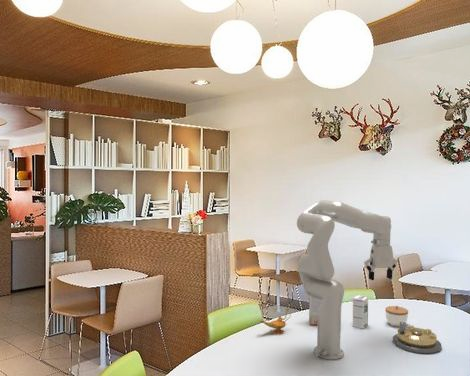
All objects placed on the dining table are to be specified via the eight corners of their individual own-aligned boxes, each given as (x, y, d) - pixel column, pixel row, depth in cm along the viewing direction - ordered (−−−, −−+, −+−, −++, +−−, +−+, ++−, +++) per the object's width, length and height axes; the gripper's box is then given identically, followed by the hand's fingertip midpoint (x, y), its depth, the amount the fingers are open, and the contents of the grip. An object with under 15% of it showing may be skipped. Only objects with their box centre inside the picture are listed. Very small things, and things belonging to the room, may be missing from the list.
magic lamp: (255, 333, 206) (255, 310, 206) (285, 326, 216) (286, 304, 215) (264, 338, 201) (264, 314, 200) (294, 331, 210) (295, 308, 209)
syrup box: (363, 329, 213) (364, 299, 213) (352, 326, 217) (352, 297, 216) (367, 325, 218) (368, 297, 217) (356, 323, 221) (357, 294, 221)
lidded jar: (409, 329, 214) (410, 310, 213) (386, 327, 216) (387, 308, 215) (405, 321, 224) (406, 303, 224) (383, 320, 226) (384, 302, 226)
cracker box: (336, 322, 222) (337, 281, 221) (338, 326, 216) (339, 284, 215) (308, 321, 224) (309, 280, 223) (309, 325, 218) (310, 283, 217)
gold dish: (432, 351, 184) (432, 332, 184) (393, 342, 194) (393, 324, 193) (439, 339, 197) (440, 321, 197) (402, 331, 207) (403, 314, 206)
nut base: (436, 358, 182) (436, 354, 182) (387, 346, 193) (387, 342, 193) (445, 342, 198) (445, 338, 198) (399, 332, 210) (399, 329, 209)
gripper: (370, 244, 199) (368, 282, 199) (402, 243, 204) (401, 280, 204) (360, 241, 206) (359, 278, 207) (392, 240, 211) (391, 276, 212)
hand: (380, 279), depth 206 cm, fingers open, 9 cm apart
